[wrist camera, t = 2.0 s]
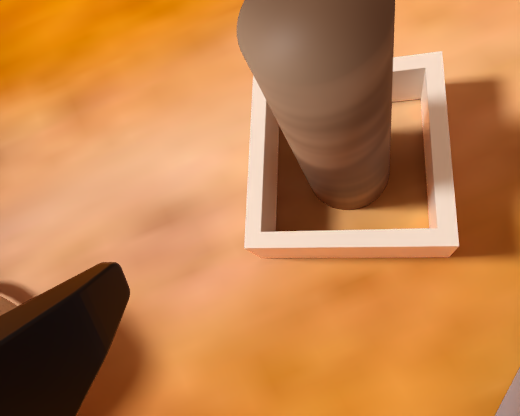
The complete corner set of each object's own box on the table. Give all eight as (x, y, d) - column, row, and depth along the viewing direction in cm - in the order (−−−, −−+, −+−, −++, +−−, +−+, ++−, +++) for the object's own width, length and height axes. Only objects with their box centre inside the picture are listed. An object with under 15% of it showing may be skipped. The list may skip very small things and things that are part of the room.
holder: (449, 257, 21) (459, 246, 18) (261, 258, 23) (244, 248, 20) (435, 84, 23) (442, 51, 20) (267, 102, 26) (253, 75, 23)
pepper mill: (364, 224, 22) (342, 108, 11) (294, 187, 24) (209, 54, 12) (404, 154, 23) (425, -30, 11) (332, 123, 24) (285, -65, 13)
